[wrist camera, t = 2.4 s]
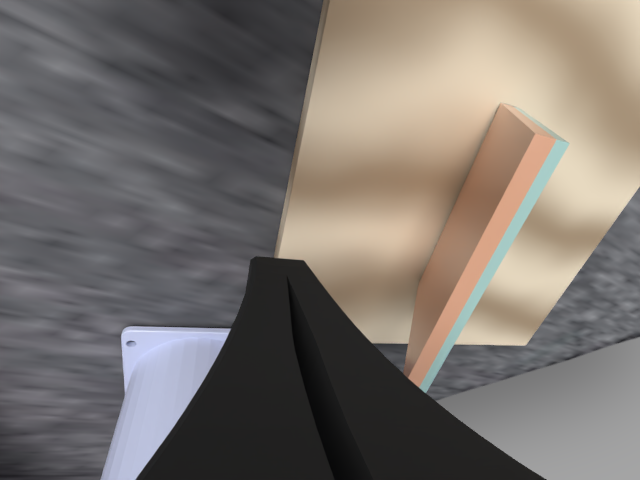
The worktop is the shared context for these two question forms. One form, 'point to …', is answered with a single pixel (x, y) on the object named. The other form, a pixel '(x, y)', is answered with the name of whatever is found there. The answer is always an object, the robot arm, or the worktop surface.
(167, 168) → the worktop surface
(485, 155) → the tile
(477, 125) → the board
